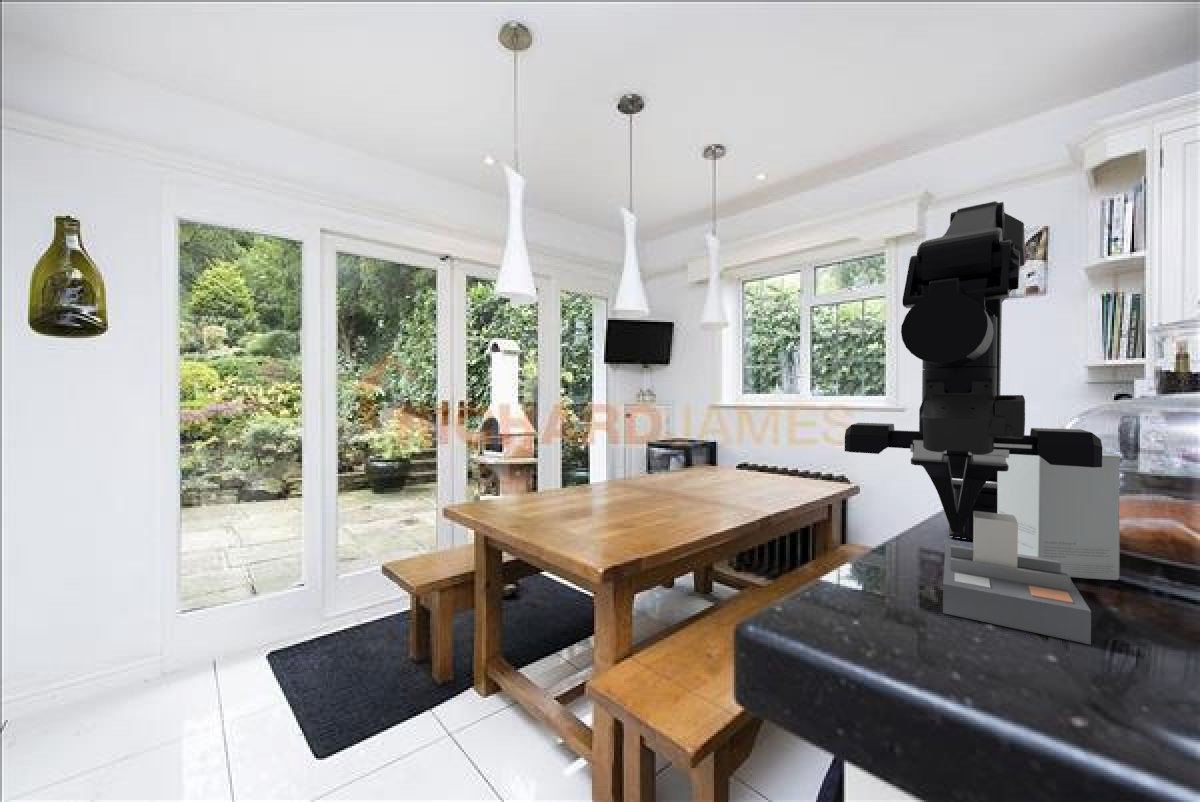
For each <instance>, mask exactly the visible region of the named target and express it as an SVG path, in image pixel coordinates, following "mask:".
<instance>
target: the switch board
mask: <svg viewBox="0 0 1200 802" xmlns="http://www.w3.org/2000/svg"><path fill="white" fill-rule="evenodd" d="M943 565H944V566H943V580H942V581H943V582H942V583H943V584H942V589H943V590H942V614H946V615H950V616H955V617H960V618H964V619H969V620H974V621H979V622H983V623H989V624H992V625H997V626H1000V627H1001V626H1002V627H1006V628H1007V627H1008V628H1011V629H1015V630H1020V631H1025V632H1030V633H1034V634H1040V635H1044V636H1048V637H1053V638H1058V639H1063V640H1066V641H1072V642H1076V643H1081V644H1082V643H1083V644H1086V645H1090V646H1091V645H1092V610H1091V609H1090V607H1089V605H1088V604H1087V602H1086V601H1085V599H1084V598H1083V596H1082V594H1081V593H1080V591H1079V590H1078V588H1077V587H1076V586H1075V584H1074V583H1073V580H1072V579H1071V578H1072V577H1069V576H1068V574H1067V573H1066V571H1065V569H1064V568H1063V566H1062V565H1061V563H1060V561H1059V560H1056V559H1049V558H1042V557H1035V556H1028V555H1021V554H1018V555H1017V568H1015V567H1008V566H1002V565H996V564H989V563H983V562H977V561H973V547H972V546H971V547H970V546H965V545H959V544H958V545H957V544H952V543H945V545H944V564H943Z"/></svg>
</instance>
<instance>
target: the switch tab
mask: <svg viewBox="0 0 1200 802" xmlns="http://www.w3.org/2000/svg"><path fill="white" fill-rule="evenodd" d="M972 545H973V561H977V562H983V563H989V564H996V565H1002V566H1008V567H1015V568H1017V555H1018V522H1017V520H1016V518H1015V516H1014V515H1007V514H998V513H989V512H979V511H974V514H973V541H972Z"/></svg>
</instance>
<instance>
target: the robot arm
mask: <svg viewBox="0 0 1200 802" xmlns="http://www.w3.org/2000/svg"><path fill="white" fill-rule="evenodd" d="M1025 254H1026V239H1025V223H1024V221H1021V220H1019V219H1017V218H1016V217H1014V216H1011V215H1009V214H1008V213H1006V212H1005V204H1004V201H1000V202H998V201H990V202H986V203H981V204H980V203H979V204H975V205H970V206H967V207H961V208H958V209H957V210H956V211H953V212H950V217H949V226H948V228H947V230H946V232H945V233H944V234H943V235H942V236H941V237H937V238H931V239H928V240H924V241H923V242H921V243H920V244H919V245H918V247H917V249H916V254H915V255H912V256H910V259H909V263H908V269H907V275H906V280H905V285H904V289H903V294H902V295H903V296H902V306H903V307H904V308H905V309H909V310H908V312H907V313H906V315H905V316H904V319H903V322H902V324H901V325H900V326H901V328H900V329H901V330H900V334H901V340H902V342H903V345H904V346H905V348H906V349H907V351H909V353H911V355H913V356H915V358H917V359H918V360H919V359H920V360H922V364H921V365H922V367H921V369H922V371H921V372H922V373H921V374H922V380H921V381H922V383H921V384H922V387H921V390H922V392H921V397H922V399H921V404H920V407H919V412H918V413H919V414H918V416H919V417H918V419H919V421H918V424H919V425H918V427H919V428H918V430H896V429H895V424H894V423H882V422H881V423H880V422H879V423H877V422H875V423H874V422H871V423H870V422H857V423H853V424H851V425H849V427H847V428H846V429H845V434H844V452H847V453H859V454H860V453H861V454H872V455H873V454H874V455H879V454H880V453H882V452H883V451H884V450H885V449H887V448H891V449H892V448H893V449H895V448H897V449H909V450H910V453H912V457H911V458H910V464H911V465H913V466H921V467H923V469H924V471H925V472H926V474H927V475H928V477H929V479H930V480H931V482H932V484H933V486H934V488H935V490H936V493H937V494H938V497H939V500H940V502H941V505H942V509H943V511H944V514H945V516H946V519H947V520H946V521H947V522H948V525H949V526H948V528H949V529H948V537H949V536H953V537H960V538H966V539H972V540H973V514H974V511H979V512H989V513H997V471H1008V468H1009V466H1008V464H1007V463H1006V458H1009V454H1017V455H1035V456H1040V457H1041V458H1043V459H1044V460H1045V461H1047V462H1048V463H1049V464H1050V465H1063V466H1079V467H1102V454H1103V444H1102V439H1101V438H1100V437H1098V436H1097V435H1096V434H1094V433H1093V432H1092V431H1088V430H1084V429H1081V428H1080V429H1077V428H1075V429H1074V428H1072V429H1071V428H1047V427H1046V428H1042V427H1041V428H1039V427H1031V428H1030V431H1029V432H1030V433H1029V435H1028V434H1025V430H1026V429H1025V428H1026V399H1025V396H1024V395H1023V394H1017V395H1016V394H1001V381H1002V380H1001V379H1002V378H1001V377H1002V369H1001V368H1002V367H1001V366H1002V319H1003V318H1002V317H1003V315H1002V314H1003V313H1002V312H1003V309H1002V308H1003V307H1002V306H1003V302H1004V301H1005V299H1009V298H1010V293H1011V292H1012V290H1019V286H1020V285H1019V283H1020V269H1021V268H1020V267H1024V266H1025V264H1026V263H1025V261H1026V260H1025V259H1026V258H1025V257H1026V255H1025ZM972 540H971V541H972Z"/></svg>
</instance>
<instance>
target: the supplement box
mask: <svg viewBox="0 0 1200 802" xmlns="http://www.w3.org/2000/svg"><path fill="white" fill-rule="evenodd" d="M1120 458H1121V457H1120V456H1119V455H1116V454H1108V453H1102V467H1079V466H1063V465H1050V464H1049V463H1048V462H1047V461H1045V460H1044V459H1043V458H1041V457H1040V456H1035V455H1017V454H1009V458H1006V463H1007V464H1008V466H1009V468H1008V471H997V482H996V484H997V513H998V514H1007V515H1014V516H1015V518H1016V520H1017V522H1018V554H1021V555H1028V556H1035V557H1042V558H1049V559H1056V560H1059V561H1060V563H1061V565H1062V566H1063V568H1064V569H1065V571H1066V573H1067V574H1068V576H1069V577H1070V578H1078V579H1096V580H1106V581H1108V580H1109V581H1110V580H1111V581H1118V580H1119V579H1120V481H1121V480H1120V469H1121V467H1120V463H1121V462H1120V461H1121V460H1120Z"/></svg>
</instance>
